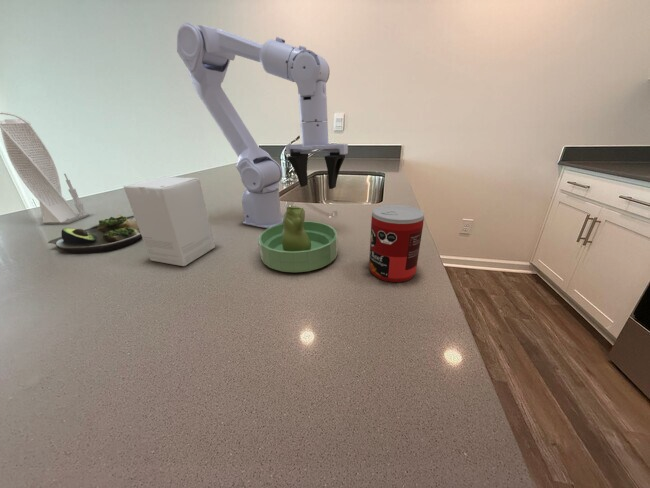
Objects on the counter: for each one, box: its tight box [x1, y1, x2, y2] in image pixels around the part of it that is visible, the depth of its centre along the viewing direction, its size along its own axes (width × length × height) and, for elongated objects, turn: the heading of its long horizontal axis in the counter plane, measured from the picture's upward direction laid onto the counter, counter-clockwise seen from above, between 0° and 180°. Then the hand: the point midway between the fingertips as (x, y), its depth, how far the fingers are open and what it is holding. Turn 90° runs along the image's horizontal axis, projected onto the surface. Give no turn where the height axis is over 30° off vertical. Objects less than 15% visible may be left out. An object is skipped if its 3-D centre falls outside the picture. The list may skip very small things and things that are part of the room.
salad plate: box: [47, 214, 142, 254], centre depth 62 cm, size 19×18×5 cm
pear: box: [282, 205, 311, 251], centre depth 47 cm, size 6×5×10 cm
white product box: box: [123, 176, 216, 267], centre depth 50 cm, size 9×9×15 cm
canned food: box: [368, 204, 425, 283], centre depth 43 cm, size 8×8×11 cm
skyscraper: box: [0, 111, 90, 225], centre depth 68 cm, size 8×8×28 cm
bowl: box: [258, 220, 339, 273], centre depth 51 cm, size 15×15×4 cm
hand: (317, 186), depth 60 cm, fingers open, 7 cm apart
